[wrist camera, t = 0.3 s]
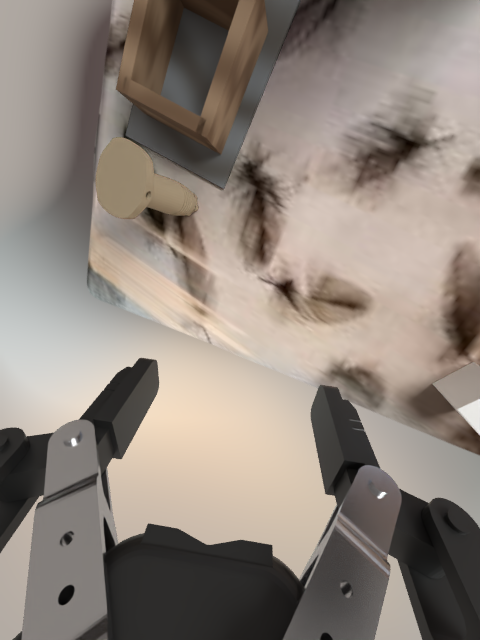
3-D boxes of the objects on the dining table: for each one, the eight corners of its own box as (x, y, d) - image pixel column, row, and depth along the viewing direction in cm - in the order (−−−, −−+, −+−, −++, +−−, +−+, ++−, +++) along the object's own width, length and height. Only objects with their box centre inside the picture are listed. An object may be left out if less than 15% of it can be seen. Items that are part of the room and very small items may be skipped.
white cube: (431, 383, 36) (456, 409, 30) (472, 361, 34) (508, 385, 28) (455, 410, 36) (484, 440, 31) (498, 390, 34) (538, 419, 28)
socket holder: (174, -63, 26) (142, -145, 21) (300, 1, 26) (302, -65, 20) (127, 136, 34) (94, 116, 28) (223, 189, 33) (210, 178, 28)
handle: (167, 216, 36) (89, 201, 22) (183, 173, 34) (106, 126, 20) (194, 232, 36) (132, 227, 22) (212, 190, 34) (155, 155, 20)
